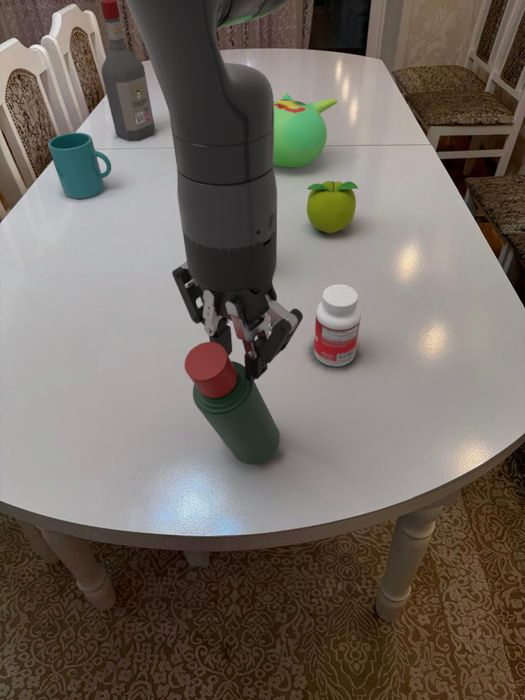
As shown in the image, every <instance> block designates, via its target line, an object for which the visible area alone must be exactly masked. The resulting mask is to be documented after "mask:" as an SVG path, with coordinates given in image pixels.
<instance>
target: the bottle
mask: <svg viewBox="0 0 525 700" xmlns="http://www.w3.org/2000/svg"><path fill="white" fill-rule="evenodd" d="M231 362H232V363H233V365H234V367H235V369H236V371H237V382H236V384H235V386H234V388H233V389H232V390H231V391H230V392H229V393H228V394H226V395H224V396H222V397H218V398H210V397H206V396H204V395H203V394H202V393H201V392H200V391H199V389H198V388H197V387H196V385H195V384H194V383H193V388H192V399H193V403H194V405H195V406H196V407H197V409H198V410H199V411H200V413H201V414H202V415H203V417H204V418H205V419H206V420H207V422H208V423H209V425H210V426H211V427H212V428H213V430H214V431H215V432H216V433H217V435H218V437H219V438H220V439H221V440H222V441H223V443H224V444H225V445H226V447H227V448H228V449H229V450H230V452H231V453H232V455H233V456H234V458H236V459H237V460H238V461H239V462H241V463H244V464H246V465H247V464H248V465H257V464H262V463H264V462H266V461H268V460H269V459H270V458H271V457H272V456H274V454H275V453H276V451H277V450H278V448H279V445H280V440H281V439H280V437H281V435H280V431H279V429H278V426H277V424H276V422H275V420H274V418H273V416H272V414H271V412H270V410H269V408H268V406H267V403H266V402H265V400H264V398H263V396H262V394H261V391H260V390H259V388H258V386H257V384H256V382H255V380H254V381H253V382H251V381H250V380H248V379H246V376H245V365H244V364H242V363H239V362H237V361H233V360H231Z"/></svg>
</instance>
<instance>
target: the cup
mask: <svg viewBox="0 0 525 700" xmlns="http://www.w3.org/2000/svg"><path fill="white" fill-rule="evenodd" d="M47 146H48V150H49V152H50V156H51V158H52V162H53V164H54V168H55V170H56V174H57V177H58V179H59V182H60V185H61V189H62V191H63V194H64V195H65V196H66V197H68V198H71V199H76V200H82V199H89V198H93V197H95V196H98V195H99V194H100V193H101V192H103V190H104V188H105V182H104V179H105V178H107V177H108V176H109V175H110V174H111V172H112V163H111V160H110V159H109V158H108V156H107V155H106V154H104V153H102V152H101V151H98V150H96V147H95V144H94V141H93V137H92V136H91V135H90V134H88V133H84V132H69V133H67V132H66V133H62V134H60V135H57V136H55V137H53V138H51V139H50V140H49V141H48V143H47ZM98 158H100V159H101V160H102V161H103V162H104V163H105V165H106V170H105V171H104V172H102V171H101V167H100V163H99V159H98Z"/></svg>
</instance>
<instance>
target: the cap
mask: <svg viewBox="0 0 525 700" xmlns="http://www.w3.org/2000/svg"><path fill="white" fill-rule="evenodd" d="M231 361H232V360H231V358H230V355H229V356H228V354H227V352H226V351H225V349H224V348H223V347H222V346H221V345H220V344H218V343H215V342H210V341H205V342H201V343H198V344H197V345H195V346H194V347H193V348H191V350H190V351H188V353H187V355H186V357H185V359H184V370H185V372H186V374H187V376H188V377H189V378H190V380H191V381H192V383H193V385H194V384H195V385H196V387H197V388H198V389H199V391H200V392H201V393H202V394H203V395H204V396H206V397H210V398H218V397H222V396H224V395H226V394H228V393H229V392H230V391H231V390H232V389H233V388H234V386H235V384H236V382H237V371H236V369H235V367H234V365H233V363H232V362H231Z"/></svg>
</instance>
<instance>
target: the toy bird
mask: <svg viewBox="0 0 525 700" xmlns="http://www.w3.org/2000/svg"><path fill="white" fill-rule="evenodd" d="M338 101H339V100H338V99H337V98H330V99H324V100H318V101H314V102H309V103H306V102H303V101H300V100H296V99H295V100H294V99H293V97H291V95H289V93H284V94H283V95H282V97H281V99H277V100H274V166H277V167H282V168H299V167H300V168H301V167H305V166H306V165H309V164H310V163H312V162H314V161H315V160H316V159H317V158H318V157H319V156H320V155H321V153H322V152H323V151H324V149H325V145H326V143H327V140H328V139H327V138H328V130H327V129H328V128H327V125H326V122H325V120H324V118H323V116H322V113H324V112H325V111H327V110H328V109H330V108H331V107H333V106H334V105H336V104H337V103H338Z"/></svg>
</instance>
